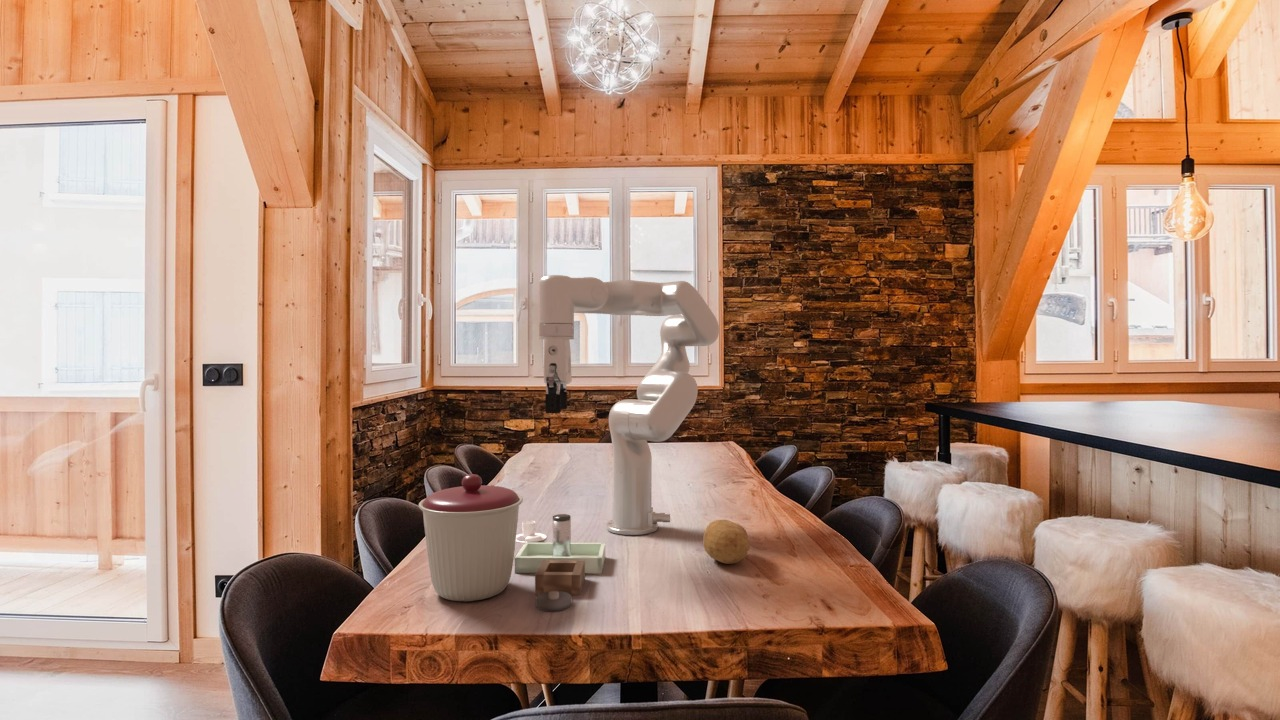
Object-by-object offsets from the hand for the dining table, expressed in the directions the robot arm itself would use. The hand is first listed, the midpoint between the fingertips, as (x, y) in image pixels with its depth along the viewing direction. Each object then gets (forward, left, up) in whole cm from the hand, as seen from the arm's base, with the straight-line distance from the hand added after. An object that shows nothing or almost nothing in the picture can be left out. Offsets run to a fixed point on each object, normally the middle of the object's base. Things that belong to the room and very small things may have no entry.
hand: (556, 411), depth 139 cm
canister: (+12, +25, -31) cm, 41 cm away
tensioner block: (-4, +26, -30) cm, 40 cm away
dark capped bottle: (-2, +10, -30) cm, 31 cm away
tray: (-2, +10, -30) cm, 32 cm away
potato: (-36, +7, -31) cm, 48 cm away
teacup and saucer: (+9, -6, -31) cm, 33 cm away
